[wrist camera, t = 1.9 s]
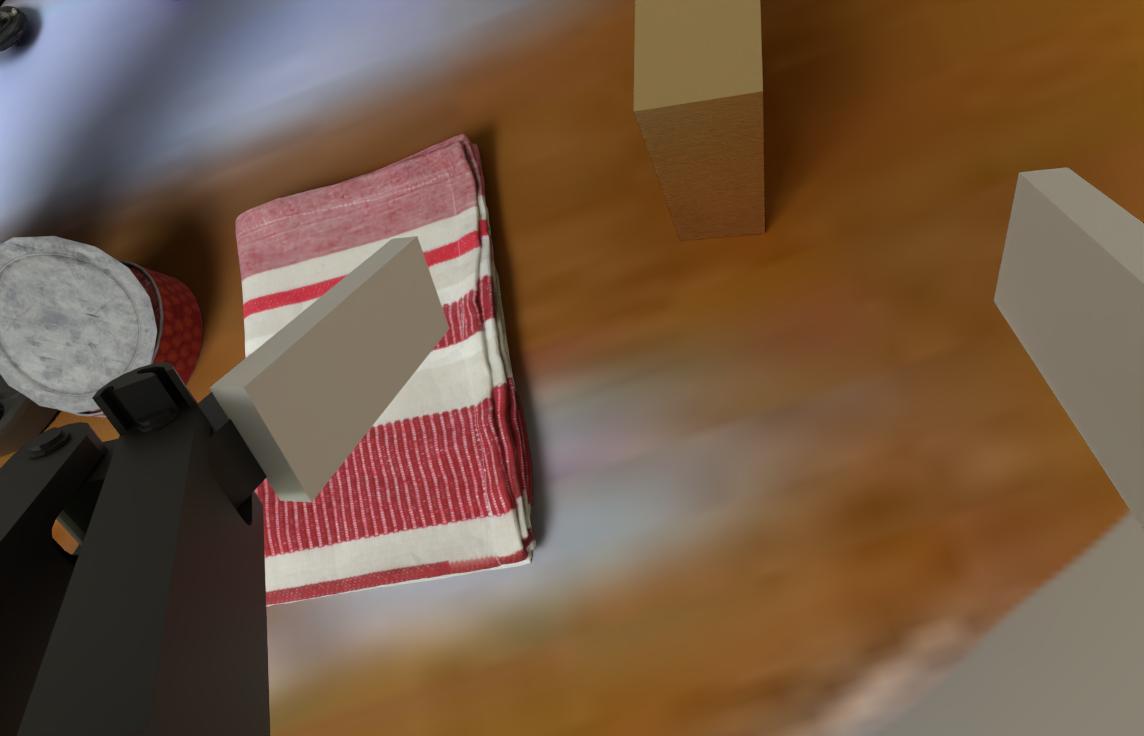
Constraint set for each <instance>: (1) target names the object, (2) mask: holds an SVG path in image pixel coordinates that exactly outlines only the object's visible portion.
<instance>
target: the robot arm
mask: <svg viewBox="0 0 1144 736" xmlns="http://www.w3.org/2000/svg"><path fill="white" fill-rule="evenodd" d="M2 243H4V242H0V244H2ZM994 302H995V304H996V305H997V307H998V308H999V310H1000V312H1001V313H1002V315H1003V316H1004V318H1005V319H1006V321H1007V322H1008V324H1009V325H1010V327H1011V328H1012V330H1013V331H1014V333H1015V335H1016V336H1017V338H1018V339H1019V341H1020V342H1021V344H1022V345H1023V347H1024V348H1025V350H1026V351H1027V353H1028V354H1029V356H1030V358H1031V359H1032V361H1033V362H1034V364H1035V365H1036V367H1037V368H1038V370H1039V371H1040V373H1041V374H1042V376H1043V377H1044V379H1045V381H1046V382H1047V384H1048V385H1049V387H1050V388H1051V390H1052V391H1053V393H1054V394H1055V396H1056V397H1057V399H1058V400H1059V402H1060V403H1061V405H1062V407H1063V408H1064V410H1065V411H1066V413H1067V414H1068V416H1069V417H1070V419H1071V420H1072V422H1073V423H1074V425H1075V426H1076V428H1077V430H1078V431H1079V433H1080V434H1081V436H1082V437H1083V439H1084V440H1085V442H1086V443H1087V445H1088V446H1089V448H1090V449H1091V451H1092V453H1093V454H1094V456H1095V457H1096V459H1097V460H1098V462H1099V463H1100V465H1101V466H1102V468H1103V469H1104V471H1105V472H1106V474H1107V476H1108V477H1109V479H1110V480H1111V482H1112V483H1113V485H1114V486H1115V488H1116V489H1117V491H1118V492H1119V494H1120V495H1121V497H1122V499H1123V500H1124V502H1125V503H1126V505H1127V506H1128V508H1129V509H1130V511H1131V512H1132V514H1133V515H1134V517H1135V518H1136V520H1137V521H1138V523H1139V525H1140V526H1141V528H1142V529H1143V531H1144V223H1142V222H1141V221H1140V220H1138V219H1137V218H1136V217H1134V216H1133V215H1132V214H1130V213H1129V212H1127V211H1126V210H1125V209H1123V208H1122V207H1121V206H1119V205H1118V204H1117V203H1115V202H1114V201H1113V200H1111V199H1110V198H1108V197H1107V196H1106V195H1104V194H1103V193H1102V192H1100V191H1099V190H1098V189H1096V188H1095V187H1094V186H1092V185H1091V184H1089V183H1088V182H1087V181H1085V180H1084V179H1083V178H1081V177H1080V176H1079V175H1077V174H1076V173H1075V172H1073V171H1072V170H1070V169H1069V168H1068V167H1066V168H1056V169H1047V170H1037V171H1028V172H1019V175H1018V180H1017V185H1016V190H1015V195H1014V200H1013V205H1012V210H1011V215H1010V220H1009V225H1008V231H1007V236H1006V241H1005V246H1004V251H1003V256H1002V261H1001V266H1000V271H999V276H998V281H997V286H996V291H995V296H994ZM448 330H449V326H448V323H447V320H446V317H445V314H444V311H443V308H442V306H441V303H440V300H439V297H438V294H437V291H436V288H435V285H434V283H433V280H432V277H431V274H430V271H429V268H428V265H427V262H426V260H425V257H424V254H423V251H422V248H421V245H420V242H419V239H418V237H417V236H413V237H404V238H394V239H391V240H390V241H388V242H387V243H386V244H385V245H384V246H382V247H381V248H380V249H379V250H377V251H376V252H375V253H374V254H373V255H371V256H370V257H369V258H368V259H366V260H365V261H364V262H363V263H362V264H360V265H359V266H358V267H357V268H355V269H354V270H353V271H352V272H351V273H349V274H348V275H347V276H346V277H344V278H343V279H342V280H341V281H340V282H338V283H337V284H336V285H335V286H333V287H332V288H331V289H330V290H329V291H327V292H326V293H325V294H324V295H322V296H321V297H320V298H319V299H318V300H316V301H315V302H314V303H313V304H311V305H310V306H309V307H308V308H307V309H305V310H304V311H303V312H302V313H300V314H299V315H298V316H297V317H296V318H294V319H293V320H292V321H291V322H289V323H288V324H287V325H286V326H285V327H283V328H282V329H281V330H280V331H278V332H277V333H276V334H275V335H274V336H272V337H271V338H270V339H269V340H267V341H266V342H265V343H264V344H263V345H261V346H260V347H259V348H258V349H256V350H255V351H254V352H253V353H252V354H250V355H249V356H248V357H247V358H245V359H244V360H243V361H242V362H241V363H239V364H238V365H237V366H236V367H234V368H233V369H232V370H231V371H230V372H228V373H227V374H226V375H225V376H223V377H222V378H221V379H220V380H219V381H217V382H216V383H215V384H214V385H212V386H211V387H210V390H211V391H212V392H211V393H210V394H209V395H208V396H206V397H205V398H204V399H203V400H202V401H200V402H199V403H197V402H196V400H195V399H194V397H193V396H192V394H191V393H190V391H189V390H188V388H187V387H186V385H185V384H184V382H183V380H182V379H181V377H180V376H179V374H178V373H177V371H176V370H175V368H174V367H173V365H172V364H169V363H165V362H163V363H154V364H150V365H146V366H143V367H139V368H137V369H134V370H132V371H130V372H127V373H125V374H123V375H121V376H119V377H117V378H116V379H114V380H112V381H110V382H109V383H107V384H106V385H105V386H103V387H102V388H101V389H99V390H98V391H97V392H96V394H95V395H94V396H93V397H92V399H93V400H94V401H95V403H96V404H97V405H98V407H99V408H100V409H101V411H102V412H103V413H104V414H105V416H106V417H107V418H108V420H109V421H110V422H111V424H112V425H113V426H114V428H115V429H116V430H117V431H118V433H119V434H120V436H119V439H115V440H110V441H106V442H102V441H101V439H100V438H99V437H98V436H97V434H96V433H95V432H94V431H93V429H92V428H91V427H90V425H89V424H88V423H81V422H79V423H73V424H68V425H65V426H62V427H59V428H56V427H55V428H52V429H49V430H47V431H46V432H43V433H41V434H39V433H40V432H41V431H42V430H43V429H44V428H45V427H46V426H47V425H48V423H49V422H50V421H51V420H52V418H53V417H54V416H55V414H56V413H57V411H58V409H53V408H48V407H43V406H39V405H38V404H36V403H35V402H34V401H32V400H31V399H29V398H28V397H27V396H25V395H24V394H22V393H20V392H19V391H17V390H15V389H14V388H12V387H10V386H9V385H8V384H7V383H6V381H5V380H4V378H3V377H2V376H1V374H0V457H1V456H4V455H7V454H10V453H12V452H14V451H16V450H18V449H20V448H21V449H20V450H18V451H17V452H16V453H15V454H14V455H13V456H12V457H11V458H10V459H9V460H8V461H7V462H6V463H5V464H4V465H3V466H2V467H1V468H0V736H270V714H269V681H268V648H267V616H266V583H265V550H264V517H263V505H262V502H261V500H260V498H259V497H258V495H257V494H256V492H255V490H256V488H257V487H258V486H259V485H260V484H261V483H262V482H263V481H264V480H265V479H267V480H268V482H269V484H270V485H271V487H272V488H273V490H274V492H275V493H276V495H277V496H278V498H279V500H280V501H297V502H312V501H313V500H314V499H315V498H316V496H317V495H318V494H319V493H320V491H321V490H322V489H323V487H324V486H325V485H326V484H327V482H328V481H329V480H330V479H331V477H332V476H333V475H334V474H335V472H336V471H337V470H338V469H339V467H340V466H341V465H342V463H343V462H344V461H345V460H346V458H347V457H348V456H349V455H350V453H351V452H352V451H353V450H354V448H355V447H356V446H357V445H358V443H359V442H360V441H361V439H362V438H363V437H364V436H365V434H366V433H367V432H368V431H369V429H370V428H371V427H372V426H373V424H374V423H375V422H376V421H377V419H378V418H379V417H380V416H381V414H382V413H383V412H384V410H385V409H386V408H387V407H388V405H389V404H390V403H391V402H392V400H393V399H394V398H395V397H396V395H397V394H398V393H399V392H400V390H401V389H402V388H403V386H404V385H405V384H406V383H407V381H408V380H409V379H410V378H411V376H412V375H413V374H414V373H415V371H416V370H417V369H418V368H419V366H420V365H421V364H422V362H423V361H424V360H425V359H426V357H427V356H428V355H429V354H430V352H431V351H432V350H433V349H434V347H435V346H436V345H437V344H438V342H439V341H440V340H441V338H442V337H443V336H444V335H445V333H446V332H447V331H448ZM38 434H39V435H38ZM27 443H28V444H27ZM56 519H57V520H58V521H59V522H60V524H61V525H62V526H63V527H64V528H65V529H66V530H67V531H68V532H69V533H70V534H71V535H72V536H73V538H74V539H75V540H76V541H77V542H78V543H79V546H78V547H77V549H76V550H75V552H74V553H73V554H72V555H71V554H69V553H68V552H66V551H65V550H64V549H63V548H62V547H61V546H60V545H59V544H58V543H57V542H56V541H55V540H54V539H53V538H52V527H53V524H54V522H55V520H56Z"/></svg>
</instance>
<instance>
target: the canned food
mask: <svg viewBox="0 0 1144 736" xmlns="http://www.w3.org/2000/svg"><path fill="white" fill-rule="evenodd" d="M202 332H203V325H202V317H201V311H200V308H199V305H198V302H197V300H196V298H195V296H194V295H193V293H192V291H191V290H190V289H189V288H188V287H187V286H186V285H185V284H184V283H183V282H181V281H179V280H178V279H176V278H173V277H170V276H167V275H165V274H162V273H159V272H156V271H153V270H150V269H148V268H145V267H142V266H139V265H137V264H135V263H131V262H128V261H118V260H116V259H114V258H113V257H111V256H110V255H108V254H107V253H105V252H103V251H102V250H100V249H99V248H97V247H95V246H91V245H87V244H84V243H80V242H76V241H72V240H68V239H64V238H61V237H57V236H42V237H13V238H11V239H10V240H8V241H6V242H4V243H2V244H0V374H1V376H2V377H3V378H4V380H5V381H6V383H7V384H8V385H9V386H10V387H12V388H14V389H15V390H17V391H19V392H20V393H22V394H24V395H25V396H27V397H28V398H29V399H31V400H32V401H34V402H35V403H36V404H38V405H39V406H43V407H48V408H53V409H58V410H62V411H65V412H69V413H73V414H76V415H80V416H96V417H105V418H107V417H106V416H105V414H104V413H103V412H102V411H101V409H100V408H99V407H98V405H97V404H96V403H95V401H94V400H93V399H92V397H93V396H94V395H95V394H96V392H97V391H98V390H99V389H101V388H102V387H103V386H105V385H106V384H107V383H109V382H110V381H112V380H114V379H116V378H117V377H119V376H121V375H123V374H125V373H127V372H130V371H132V370H134V369H137V368H139V367H143V366H146V365H150V364H154V363H163V362H165V363H169V364H172V365H173V367H174V368H175V370H176V371H177V373H178V374H179V376H180V377H181V379H182V380H183V382H184V384H185V385H187V383H188V381H189V379H190V377H191V375H192V373H193V371H194V369H195V366H196V363H197V361H198V358H199V354H200V349H201V344H202Z"/></svg>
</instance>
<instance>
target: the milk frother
mask: <svg viewBox="0 0 1144 736" xmlns="http://www.w3.org/2000/svg"><path fill="white" fill-rule="evenodd" d="M0 2H1V0H0ZM27 24H28V19H27V17H26V16H25V15H24V14H23V13H22V12H21V11H20V10H19V9H17V8H15V7H12V6H3V7H0V52H1V51H3V50H6V49H7V48H9V47H11V46H13V45H14V44H16V45H18V46H21V45H22V44H21V43H20V42H19V41H18V40H17V39H18V38H19V37H20V36H21V35H22V34H23V32H24V31H25V30H26V27H27Z"/></svg>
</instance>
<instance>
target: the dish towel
mask: <svg viewBox="0 0 1144 736" xmlns="http://www.w3.org/2000/svg"><path fill="white" fill-rule="evenodd" d="M413 236H417V237H418V239H419V242H420V245H421V248H422V251H423V254H424V257H425V260H426V262H427V265H428V268H429V271H430V274H431V277H432V280H433V283H434V285H435V288H436V291H437V294H438V297H439V300H440V303H441V306H442V308H443V311H444V314H445V317H446V320H447V323H448V326H449V330H448V331H447V332H446V333H445V335H444V336H443V337H442V338H441V340H440V341H439V342H438V344H437V345H436V346H435V347H434V349H433V350H432V351H431V352H430V354H429V355H428V356H427V357H426V359H425V360H424V361H423V362H422V364H421V365H420V366H419V368H418V369H417V370H416V371H415V373H414V374H413V375H412V376H411V378H410V379H409V380H408V381H407V383H406V384H405V385H404V386H403V388H402V389H401V390H400V392H399V393H398V394H397V395H396V397H395V398H394V399H393V400H392V402H391V403H390V404H389V405H388V407H387V408H386V409H385V410H384V412H383V413H382V414H381V416H380V417H379V418H378V419H377V421H376V422H375V423H374V424H373V426H372V427H371V428H370V429H369V431H368V432H367V433H366V434H365V436H364V437H363V438H362V439H361V441H360V442H359V443H358V445H357V446H356V447H355V448H354V450H353V451H352V452H351V453H350V455H349V456H348V457H347V458H346V460H345V461H344V462H343V463H342V465H341V466H340V467H339V469H338V470H337V471H336V472H335V474H334V475H333V476H332V477H331V479H330V480H329V481H328V482H327V484H326V485H325V486H324V487H323V489H322V490H321V491H320V493H319V494H318V495H317V496H316V498H315V499H314V500H313V501H312V502H297V501H280V500H279V498H278V496H277V495H276V493H275V492H274V490H273V488H272V487H271V485H270V484H269V482H268V480H267V479H265V480H264V481H263V482H262V483H261V484H260V485H259V486H258V487H257V488H256V490H255V492H256V494H257V495H258V497H259V498H260V500H261V502H262V505H263V517H264V550H265V583H266V607H267V606H271V605H274V604H283V603H292V602H297V601H302V600H307V599H313V598H319V597H324V596H329V595H336V594H345V593H348V592H356V591H362V590H369V589H375V588H378V587H387V586H394V585H400V584H407V583H414V582H422V581H429V580H434V579H441V578H447V577H451V576H458V575H465V574H470V573H475V572H480V571H487V570H496V569H503V568H509V567H516V566H521V565H525V564H530V563H531V558H532V551H533V550H534V549H535V548H536V541H535V538H534V534H533V530H532V527H531V522H530V516H531V508H532V496H533V491H532V467H531V457H530V449H529V442H528V437H527V432H526V425H525V421H524V415H523V411H522V406H521V402H520V399H519V396H518V393H517V391H516V388H515V384H514V379H513V374H512V369H511V363H510V358H509V350H508V344H507V337H506V327H505V320H504V313H503V307H502V300H501V292H500V284H499V278H498V273H497V269H496V267H495V263H494V251H493V244H492V238H491V230H490V224H489V215H488V208H487V205H486V200H485V186H484V177H483V171H482V160H481V155H480V151H479V149H478V145H477V144H472V143H471V141H470V140H469V138H468V136H467V135H465V134H463V133H462V134H460V135H458V136H455V137H452V138H450V139H448V140H446V141H444V142H441V143H438V144H436V145H433V146H431V147H429V148H426V149H424V150H422V151H420V152H418V153H416V154H414V155H412V156H409V157H407V158H405V159H402V160H400V161H398V162H395V163H393V164H391V165H389V166H387V167H384V168H381V169H378V170H376V171H374V172H371V173H368V174H364V175H361V176H358V177H355V178H352V179H349V180H346V181H344V182H341V183H338V184H334V185H330V186H326V187H321V188H318V189H313V190H309V191H306V192H301V193H297V194H294V195H290V196H286V197H281V198H277V199H275V200H272V201H270V202H267V203H264V204H261V205H259V206H257V207H254V208H251V209H249V210H247V211H246V212H244V213H242V214H240V215H239V216H238V217H237V219H236V239H237V247H238V255H239V263H240V271H241V279H242V291H243V310H244V327H245V354H246V357H245V358H247V357H248V356H249V355H250V354H252V353H253V352H254V351H255V350H256V349H258V348H259V347H260V346H261V345H263V344H264V343H265V342H266V341H267V340H269V339H270V338H271V337H272V336H274V335H275V334H276V333H277V332H278V331H280V330H281V329H282V328H283V327H285V326H286V325H287V324H288V323H289V322H291V321H292V320H293V319H294V318H296V317H297V316H298V315H299V314H300V313H302V312H303V311H304V310H305V309H307V308H308V307H309V306H310V305H311V304H313V303H314V302H315V301H316V300H318V299H319V298H320V297H321V296H322V295H324V294H325V293H326V292H327V291H329V290H330V289H331V288H332V287H333V286H335V285H336V284H337V283H338V282H340V281H341V280H342V279H343V278H344V277H346V276H347V275H348V274H349V273H351V272H352V271H353V270H354V269H355V268H357V267H358V266H359V265H360V264H362V263H363V262H364V261H365V260H366V259H368V258H369V257H370V256H371V255H373V254H374V253H375V252H376V251H377V250H379V249H380V248H381V247H382V246H384V245H385V244H386V243H387V242H388V241H390V240H391V239H394V238H404V237H413Z"/></svg>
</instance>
